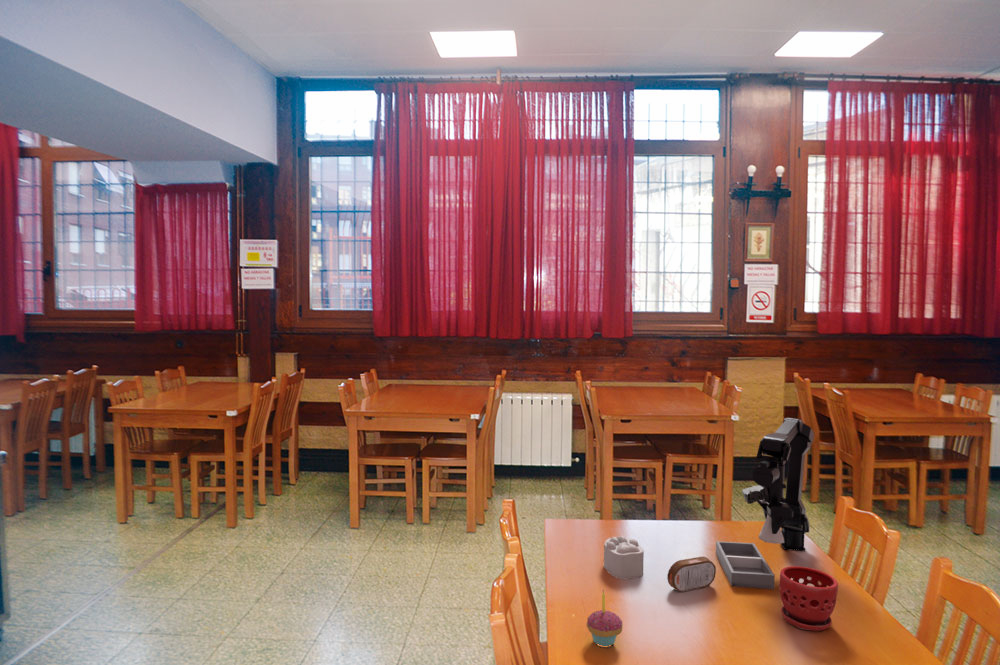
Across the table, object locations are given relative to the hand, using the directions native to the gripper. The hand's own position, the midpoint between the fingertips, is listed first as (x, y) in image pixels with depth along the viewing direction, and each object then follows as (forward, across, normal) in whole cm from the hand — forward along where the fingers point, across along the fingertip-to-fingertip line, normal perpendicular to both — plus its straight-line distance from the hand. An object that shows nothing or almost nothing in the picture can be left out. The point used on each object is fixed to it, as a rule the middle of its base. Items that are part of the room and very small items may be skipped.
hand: (771, 530), depth 186 cm
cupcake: (+14, +45, -50) cm, 69 cm away
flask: (+3, 0, 0) cm, 3 cm away
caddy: (+12, 0, -8) cm, 15 cm away
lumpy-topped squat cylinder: (+13, +4, -44) cm, 46 cm away
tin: (+13, +14, -25) cm, 32 cm away
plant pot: (+13, +29, +1) cm, 31 cm away
